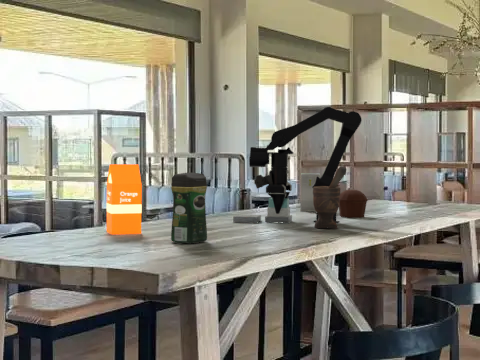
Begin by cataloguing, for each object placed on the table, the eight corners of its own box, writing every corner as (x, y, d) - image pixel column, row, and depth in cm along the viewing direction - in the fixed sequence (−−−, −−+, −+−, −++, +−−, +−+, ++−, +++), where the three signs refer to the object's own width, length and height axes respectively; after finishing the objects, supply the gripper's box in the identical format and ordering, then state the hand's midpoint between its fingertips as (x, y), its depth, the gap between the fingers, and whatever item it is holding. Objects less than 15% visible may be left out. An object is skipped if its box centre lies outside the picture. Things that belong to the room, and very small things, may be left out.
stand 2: (291, 221, 272) (291, 215, 272) (288, 223, 264) (288, 217, 264) (269, 220, 273) (269, 214, 273) (265, 222, 266) (265, 216, 266)
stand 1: (260, 220, 271) (260, 215, 271) (256, 223, 263) (256, 217, 263) (238, 220, 273) (238, 214, 273) (233, 222, 265) (233, 216, 265)
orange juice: (106, 231, 232) (106, 164, 231) (135, 230, 235) (136, 164, 235) (111, 234, 225) (111, 164, 224) (141, 233, 228) (142, 164, 227)
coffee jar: (188, 239, 216) (189, 171, 215) (211, 241, 211) (212, 172, 210) (165, 242, 208) (165, 172, 207) (188, 245, 203) (189, 173, 202)
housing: (289, 215, 270) (290, 195, 270) (287, 216, 266) (288, 196, 265) (269, 215, 272) (270, 195, 272) (267, 216, 267) (267, 196, 267)
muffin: (373, 217, 289) (373, 190, 289) (346, 218, 285) (347, 190, 284) (356, 215, 300) (357, 188, 300) (331, 215, 296) (331, 189, 296)
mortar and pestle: (352, 228, 250) (353, 165, 249) (342, 230, 243) (343, 166, 242) (319, 226, 256) (320, 164, 255) (308, 228, 248) (309, 165, 247)
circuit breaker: (319, 208, 327) (319, 172, 326) (319, 211, 313) (319, 174, 312) (301, 208, 328) (301, 172, 327) (300, 211, 314) (300, 173, 313)
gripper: (261, 166, 279) (260, 210, 279) (251, 167, 260) (250, 214, 261) (292, 166, 276) (291, 211, 277) (284, 168, 258) (283, 215, 259)
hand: (278, 213), depth 269 cm, fingers closed on housing, 5 cm apart
